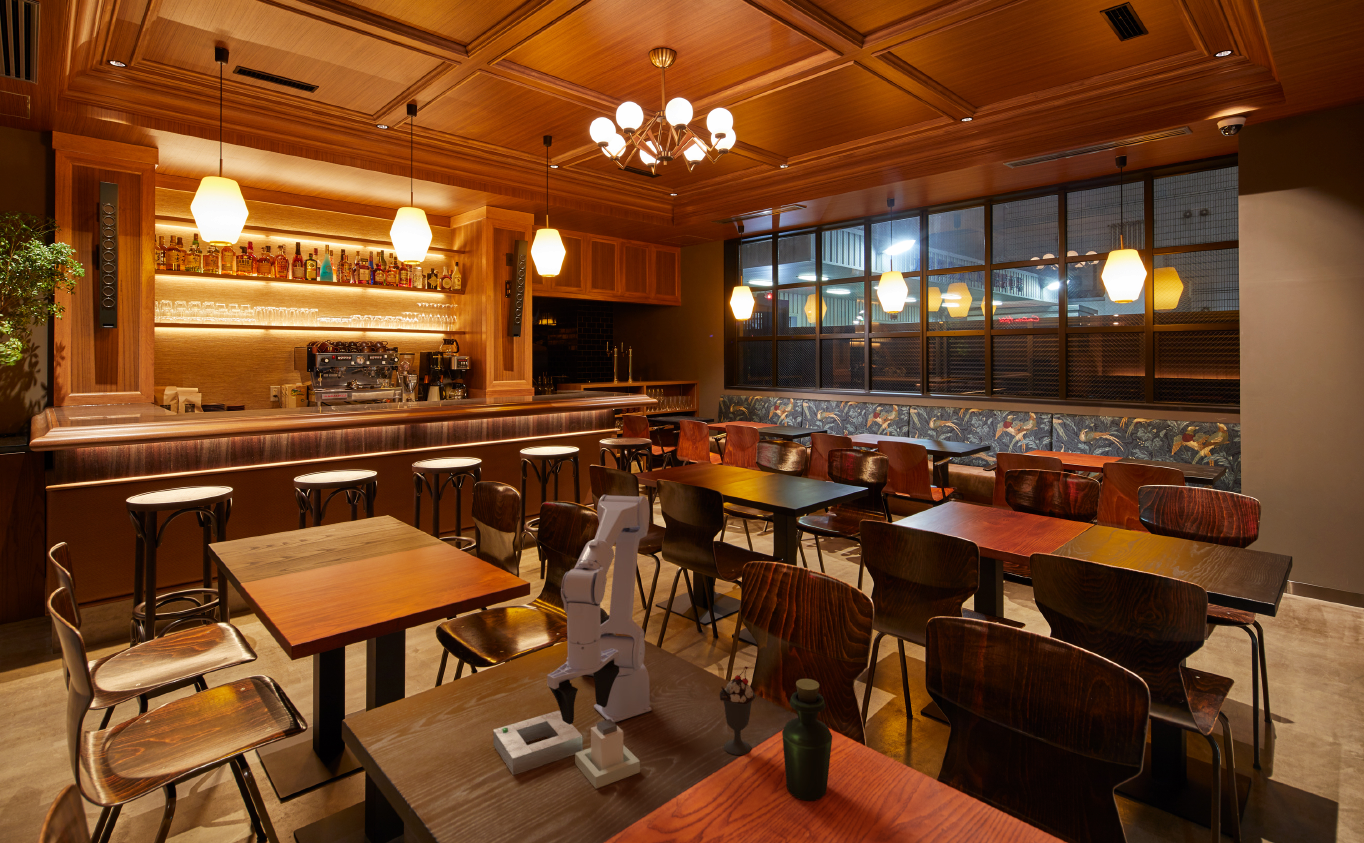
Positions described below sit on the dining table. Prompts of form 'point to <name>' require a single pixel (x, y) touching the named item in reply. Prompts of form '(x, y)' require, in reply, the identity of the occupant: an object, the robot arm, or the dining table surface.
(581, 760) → the beige square frame
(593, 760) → the plug
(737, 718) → the sundae
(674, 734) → the dining table surface
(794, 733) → the potion bottle
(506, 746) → the port block
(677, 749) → the dining table surface
